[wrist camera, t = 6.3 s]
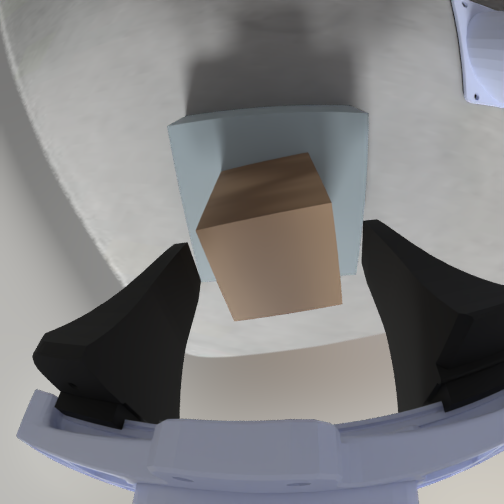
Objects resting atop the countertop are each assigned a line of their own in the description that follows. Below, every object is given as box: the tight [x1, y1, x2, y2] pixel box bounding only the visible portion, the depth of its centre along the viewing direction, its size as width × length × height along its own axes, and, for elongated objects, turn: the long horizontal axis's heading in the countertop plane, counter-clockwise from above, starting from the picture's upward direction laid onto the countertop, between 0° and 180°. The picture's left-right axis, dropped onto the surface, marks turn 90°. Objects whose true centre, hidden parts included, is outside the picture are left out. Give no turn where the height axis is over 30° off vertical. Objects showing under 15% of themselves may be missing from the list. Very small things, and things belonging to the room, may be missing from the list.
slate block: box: [167, 105, 368, 282], centre depth 17 cm, size 10×10×4 cm
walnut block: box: [195, 152, 342, 321], centre depth 13 cm, size 4×4×6 cm
